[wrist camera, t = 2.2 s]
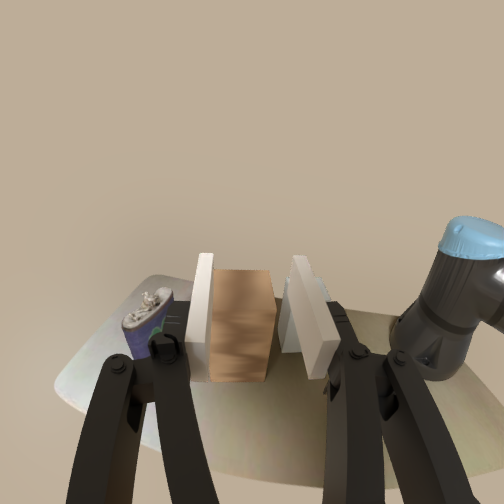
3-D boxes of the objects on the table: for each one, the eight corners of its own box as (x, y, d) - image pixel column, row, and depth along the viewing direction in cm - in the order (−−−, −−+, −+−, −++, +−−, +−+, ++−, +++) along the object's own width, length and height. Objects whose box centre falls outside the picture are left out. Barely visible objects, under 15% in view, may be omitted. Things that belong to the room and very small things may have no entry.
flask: (170, 329, 40) (160, 272, 35) (185, 337, 39) (178, 279, 34) (133, 369, 33) (112, 312, 28) (149, 379, 32) (130, 323, 27)
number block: (307, 327, 43) (320, 276, 38) (314, 351, 39) (331, 299, 34) (277, 327, 43) (285, 276, 38) (281, 352, 38) (292, 300, 33)
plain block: (259, 343, 40) (268, 270, 33) (264, 381, 34) (276, 309, 27) (212, 342, 39) (209, 269, 33) (210, 381, 33) (205, 308, 26)
